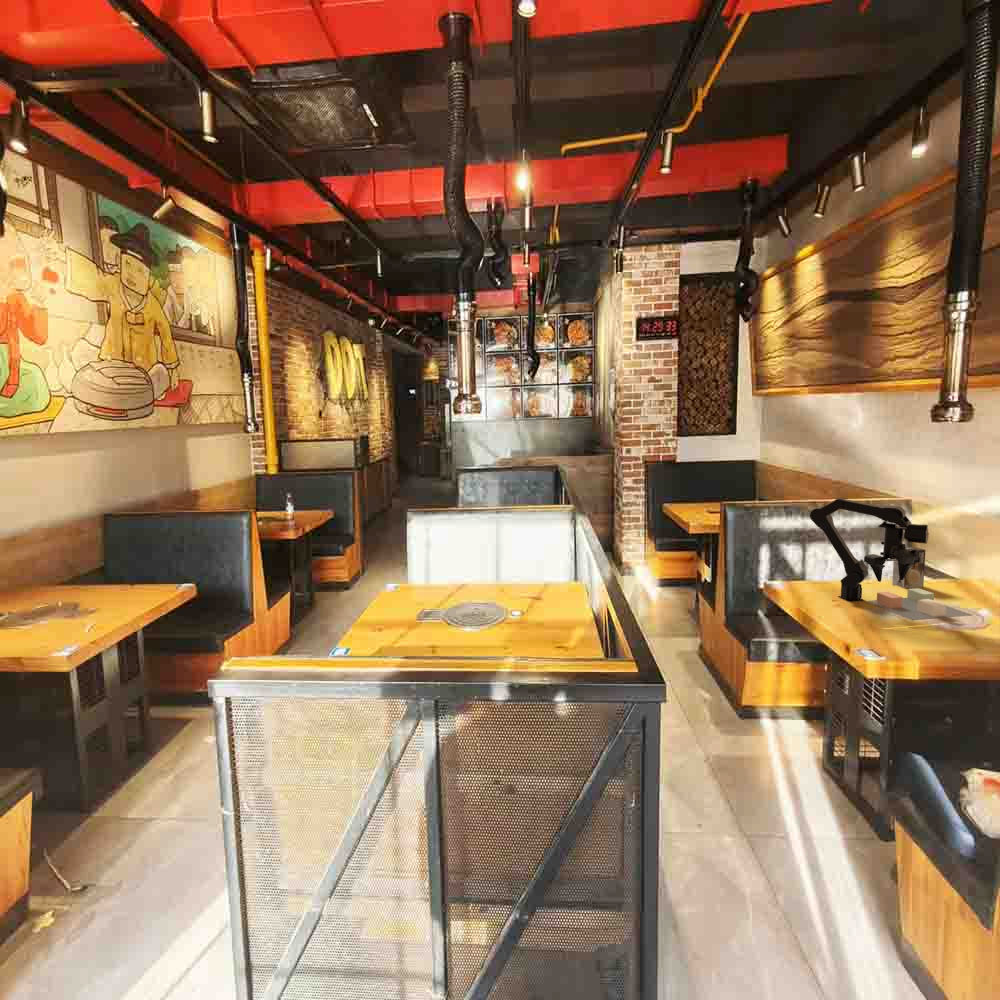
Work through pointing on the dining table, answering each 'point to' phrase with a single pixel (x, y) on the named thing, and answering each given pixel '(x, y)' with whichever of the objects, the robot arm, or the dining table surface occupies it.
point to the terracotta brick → (889, 599)
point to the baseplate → (916, 614)
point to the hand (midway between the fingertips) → (890, 580)
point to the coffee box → (911, 572)
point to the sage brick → (919, 595)
